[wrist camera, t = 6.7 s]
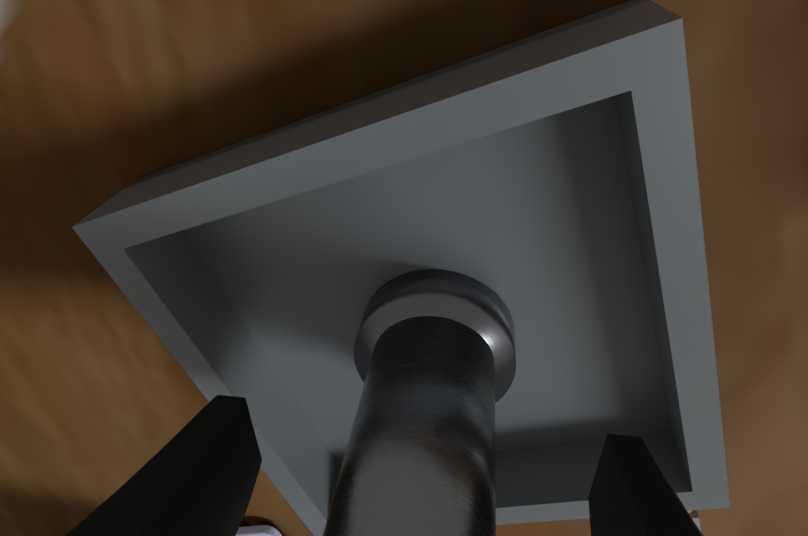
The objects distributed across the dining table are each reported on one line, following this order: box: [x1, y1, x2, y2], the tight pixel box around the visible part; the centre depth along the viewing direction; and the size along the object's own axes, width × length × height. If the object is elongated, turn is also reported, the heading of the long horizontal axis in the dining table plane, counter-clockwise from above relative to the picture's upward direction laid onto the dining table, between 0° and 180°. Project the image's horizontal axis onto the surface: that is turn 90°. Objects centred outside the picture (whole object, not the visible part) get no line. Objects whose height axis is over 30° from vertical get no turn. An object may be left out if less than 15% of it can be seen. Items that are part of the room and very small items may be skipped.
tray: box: [72, 0, 730, 536], centre depth 13 cm, size 12×12×2 cm
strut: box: [323, 269, 516, 536], centre depth 11 cm, size 4×4×7 cm
